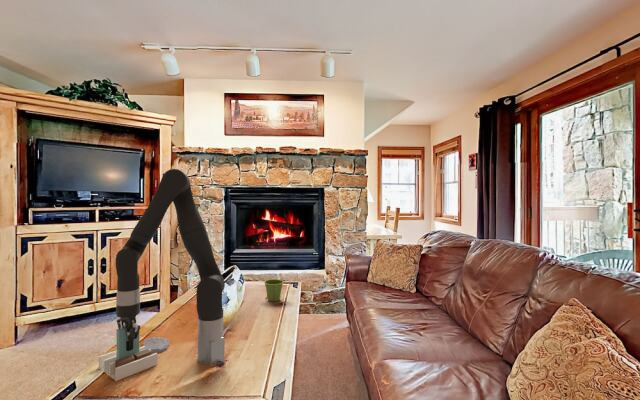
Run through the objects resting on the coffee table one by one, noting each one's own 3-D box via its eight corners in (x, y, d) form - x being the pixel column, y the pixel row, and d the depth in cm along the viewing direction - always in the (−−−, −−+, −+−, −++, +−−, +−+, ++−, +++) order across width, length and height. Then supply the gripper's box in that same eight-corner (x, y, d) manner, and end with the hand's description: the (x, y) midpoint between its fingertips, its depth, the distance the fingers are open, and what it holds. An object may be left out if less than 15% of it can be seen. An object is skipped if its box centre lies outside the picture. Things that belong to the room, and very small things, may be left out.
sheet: (139, 362, 126) (139, 325, 126) (118, 370, 120) (119, 331, 120) (136, 361, 127) (136, 323, 127) (116, 368, 122) (116, 329, 121)
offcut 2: (151, 364, 125) (151, 351, 125) (137, 370, 121) (137, 356, 120) (147, 362, 126) (147, 348, 126) (133, 367, 122) (133, 353, 122)
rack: (157, 368, 125) (157, 353, 125) (116, 385, 114) (116, 368, 114) (138, 356, 134) (138, 343, 133) (98, 371, 122) (98, 356, 122)
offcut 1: (134, 371, 120) (134, 357, 120) (119, 377, 116) (119, 362, 116) (130, 368, 122) (130, 354, 121) (115, 374, 118) (115, 360, 117)
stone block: (167, 347, 146) (142, 346, 143) (170, 336, 146) (144, 335, 143) (166, 361, 135) (138, 360, 131) (169, 349, 135) (141, 348, 132)
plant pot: (260, 301, 204) (260, 283, 203) (269, 296, 215) (269, 278, 215) (278, 304, 200) (279, 284, 200) (286, 298, 212) (286, 280, 211)
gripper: (148, 302, 122) (147, 350, 123) (130, 295, 131) (130, 340, 131) (126, 308, 116) (125, 358, 117) (108, 300, 125) (108, 347, 125)
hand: (128, 348), depth 124 cm, fingers closed on sheet, 2 cm apart
